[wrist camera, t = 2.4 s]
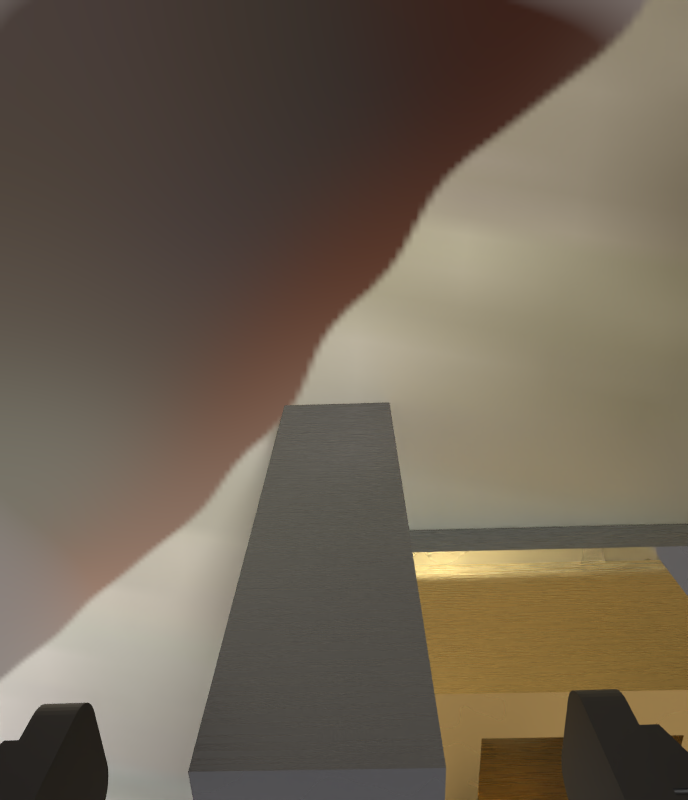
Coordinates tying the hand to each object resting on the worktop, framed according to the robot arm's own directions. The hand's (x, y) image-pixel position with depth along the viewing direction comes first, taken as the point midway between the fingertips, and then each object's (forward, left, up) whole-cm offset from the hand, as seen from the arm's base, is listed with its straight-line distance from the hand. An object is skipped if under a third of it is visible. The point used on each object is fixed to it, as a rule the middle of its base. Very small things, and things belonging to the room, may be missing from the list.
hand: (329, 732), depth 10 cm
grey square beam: (0, 0, -10) cm, 10 cm away
